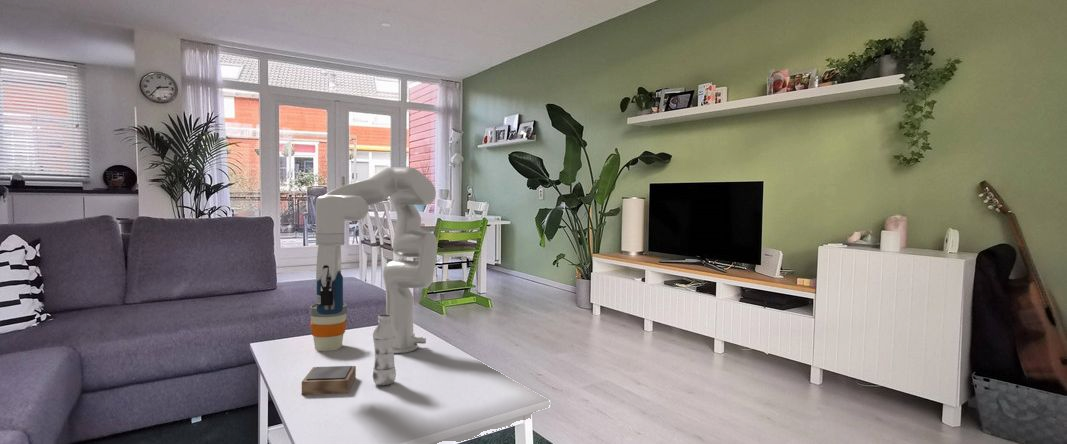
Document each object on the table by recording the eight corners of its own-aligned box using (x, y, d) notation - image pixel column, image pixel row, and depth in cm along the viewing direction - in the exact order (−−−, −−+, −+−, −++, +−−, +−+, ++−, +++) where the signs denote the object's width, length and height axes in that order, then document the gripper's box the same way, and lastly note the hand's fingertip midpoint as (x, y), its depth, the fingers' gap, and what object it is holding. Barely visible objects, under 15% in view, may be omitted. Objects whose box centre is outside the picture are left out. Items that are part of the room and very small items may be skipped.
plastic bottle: (400, 381, 151) (401, 314, 150) (386, 389, 145) (387, 319, 144) (381, 378, 153) (382, 312, 152) (367, 386, 147) (368, 317, 146)
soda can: (334, 309, 150) (334, 268, 150) (347, 313, 146) (347, 271, 145) (311, 313, 145) (311, 271, 145) (324, 317, 141) (324, 274, 140)
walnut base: (355, 377, 153) (355, 364, 153) (347, 393, 142) (347, 378, 141) (313, 379, 152) (313, 365, 151) (301, 394, 140) (301, 380, 140)
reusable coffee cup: (334, 340, 192) (334, 300, 192) (354, 346, 185) (354, 305, 184) (302, 347, 182) (302, 305, 181) (322, 354, 175) (322, 311, 174)
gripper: (323, 237, 153) (323, 296, 153) (307, 242, 135) (307, 309, 136) (350, 237, 154) (349, 296, 155) (337, 242, 137) (337, 309, 137)
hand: (330, 301), depth 145 cm, fingers closed on soda can, 7 cm apart
